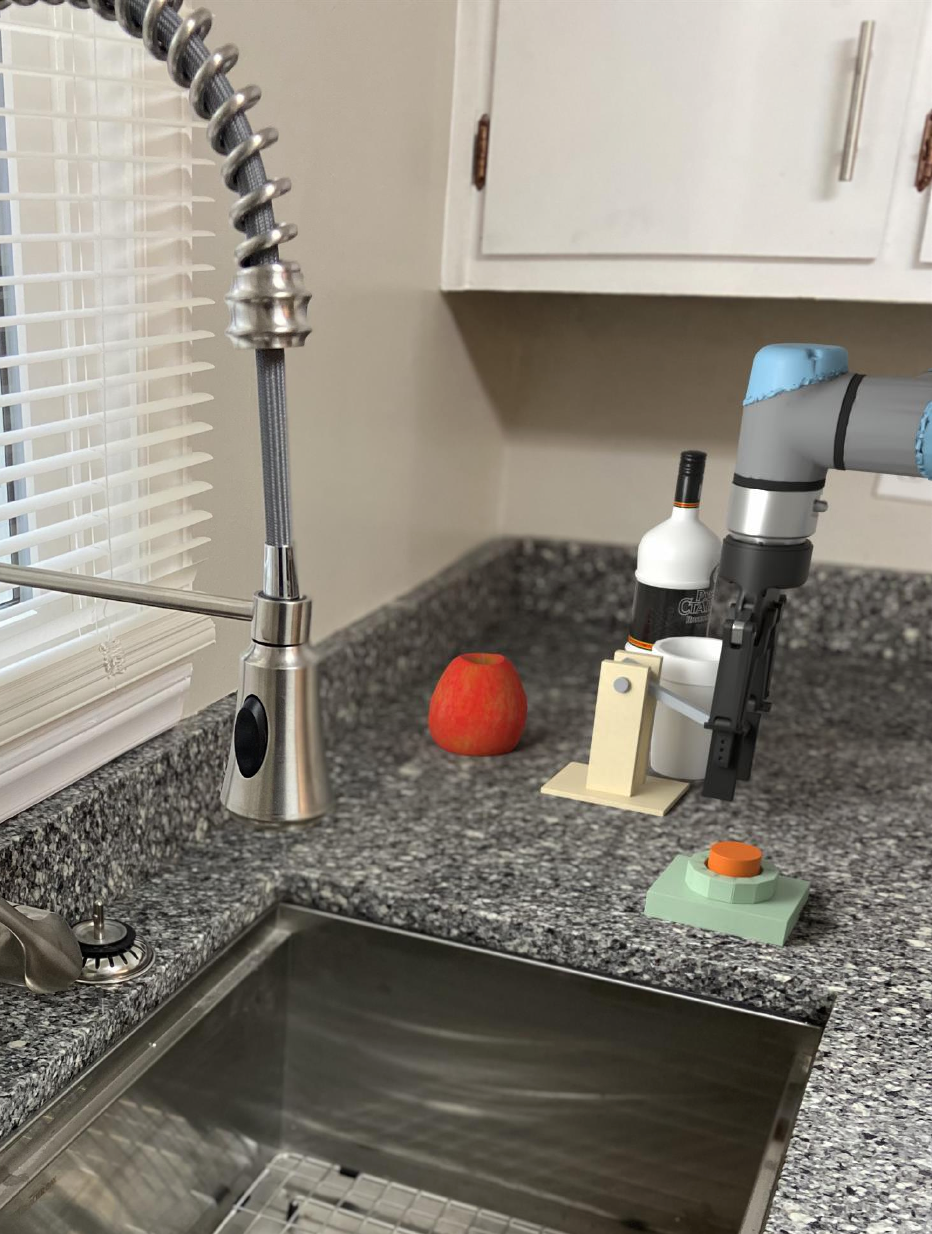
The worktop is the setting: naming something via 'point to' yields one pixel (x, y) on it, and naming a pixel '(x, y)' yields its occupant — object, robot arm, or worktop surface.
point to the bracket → (621, 743)
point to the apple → (478, 706)
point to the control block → (728, 899)
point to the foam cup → (692, 678)
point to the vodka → (676, 567)
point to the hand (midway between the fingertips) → (726, 787)
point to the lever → (680, 702)
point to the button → (734, 859)
